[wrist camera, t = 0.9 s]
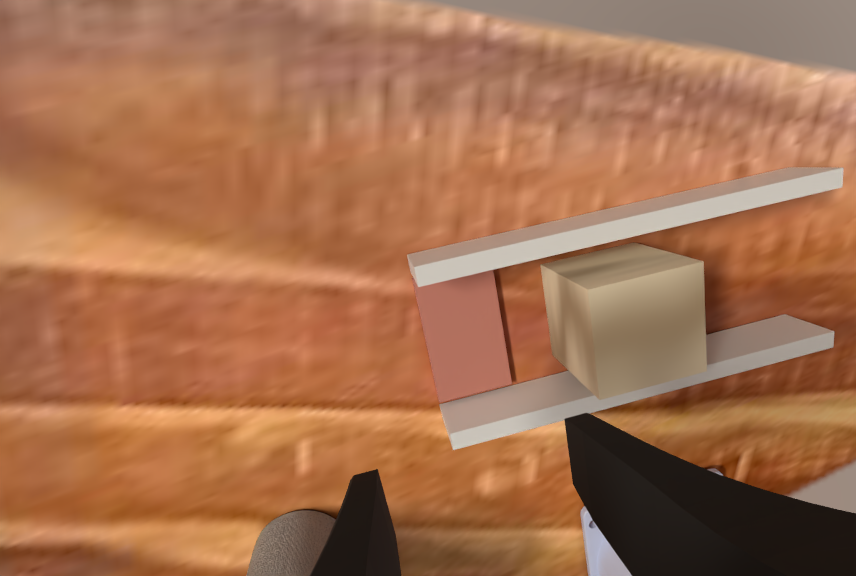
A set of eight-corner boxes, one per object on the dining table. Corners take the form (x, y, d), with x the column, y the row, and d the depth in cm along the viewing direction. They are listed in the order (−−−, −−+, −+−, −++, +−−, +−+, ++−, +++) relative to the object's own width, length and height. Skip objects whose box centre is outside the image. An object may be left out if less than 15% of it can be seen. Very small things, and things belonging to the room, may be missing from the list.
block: (639, 331, 22) (706, 371, 18) (551, 354, 22) (599, 400, 18) (632, 242, 21) (703, 261, 17) (539, 264, 21) (588, 289, 16)
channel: (784, 328, 23) (833, 347, 21) (442, 418, 22) (453, 450, 19) (788, 167, 21) (843, 167, 19) (407, 254, 20) (413, 267, 17)
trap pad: (509, 381, 22) (512, 383, 22) (438, 399, 22) (439, 402, 21) (489, 259, 20) (491, 261, 20) (412, 278, 20) (412, 279, 20)
